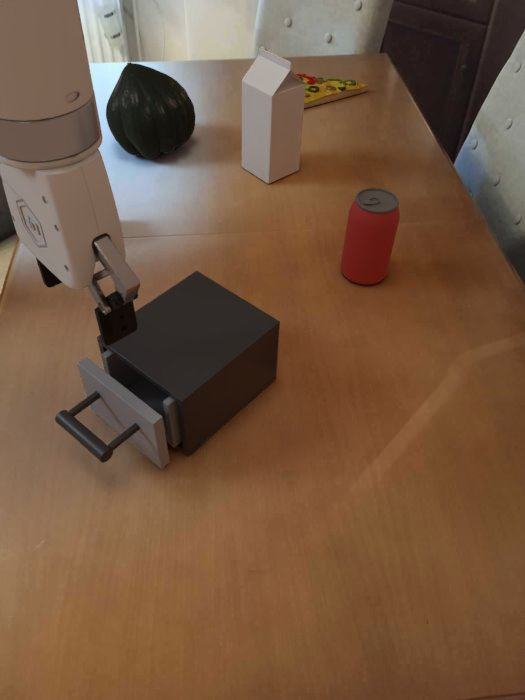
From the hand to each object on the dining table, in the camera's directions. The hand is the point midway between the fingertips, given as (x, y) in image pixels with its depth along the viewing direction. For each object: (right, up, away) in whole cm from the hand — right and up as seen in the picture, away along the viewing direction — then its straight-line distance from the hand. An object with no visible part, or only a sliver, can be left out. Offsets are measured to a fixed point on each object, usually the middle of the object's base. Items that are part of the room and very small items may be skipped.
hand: (89, 307), depth 53 cm
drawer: (+3, -11, +13) cm, 17 cm away
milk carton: (+17, +27, +50) cm, 60 cm away
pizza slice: (+27, +49, +71) cm, 91 cm away
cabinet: (+7, -8, +17) cm, 20 cm away
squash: (-4, +32, +54) cm, 63 cm away
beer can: (+30, +7, +32) cm, 44 cm away
